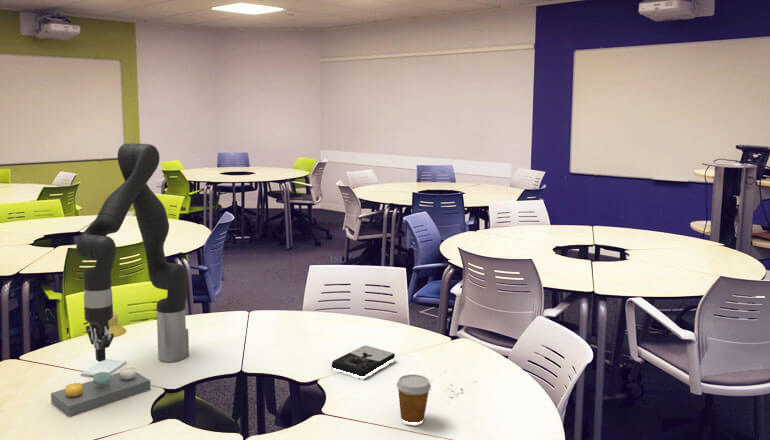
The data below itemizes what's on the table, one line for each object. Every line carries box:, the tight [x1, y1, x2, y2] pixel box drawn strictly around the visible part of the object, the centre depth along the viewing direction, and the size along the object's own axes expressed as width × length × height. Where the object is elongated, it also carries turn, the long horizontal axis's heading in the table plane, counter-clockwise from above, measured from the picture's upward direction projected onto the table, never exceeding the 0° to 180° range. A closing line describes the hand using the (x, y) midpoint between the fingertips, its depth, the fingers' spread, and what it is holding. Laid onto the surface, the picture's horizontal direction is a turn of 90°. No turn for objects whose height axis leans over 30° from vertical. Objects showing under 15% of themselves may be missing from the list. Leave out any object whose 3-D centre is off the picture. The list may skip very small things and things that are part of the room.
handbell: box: [108, 311, 127, 339], centre depth 235 cm, size 12×12×25 cm
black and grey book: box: [331, 345, 396, 376], centre depth 213 cm, size 13×19×5 cm
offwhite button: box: [119, 366, 137, 379], centre depth 191 cm, size 4×4×2 cm
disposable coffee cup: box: [396, 374, 432, 422], centre depth 175 cm, size 10×10×12 cm
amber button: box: [64, 382, 83, 396], centre depth 179 cm, size 4×4×2 cm
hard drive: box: [80, 358, 128, 379], centre depth 204 cm, size 2×8×12 cm
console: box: [50, 371, 152, 417], centre depth 185 cm, size 24×12×3 cm, turn 139°
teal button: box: [92, 372, 111, 385], centre depth 185 cm, size 4×4×2 cm
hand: (100, 360), depth 183 cm, fingers closed
